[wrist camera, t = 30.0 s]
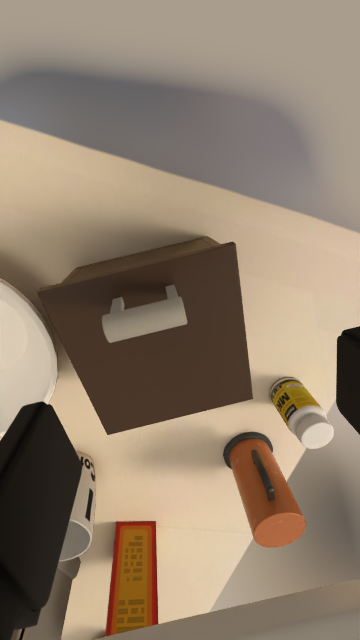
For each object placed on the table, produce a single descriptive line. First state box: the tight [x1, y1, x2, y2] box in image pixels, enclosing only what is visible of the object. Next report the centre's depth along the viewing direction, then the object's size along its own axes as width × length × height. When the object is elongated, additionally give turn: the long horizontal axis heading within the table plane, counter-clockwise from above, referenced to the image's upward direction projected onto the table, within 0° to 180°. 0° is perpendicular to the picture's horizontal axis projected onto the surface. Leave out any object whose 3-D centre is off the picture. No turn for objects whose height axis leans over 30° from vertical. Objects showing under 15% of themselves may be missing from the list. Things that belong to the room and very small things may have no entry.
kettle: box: [229, 438, 306, 547], centre depth 38 cm, size 11×6×11 cm, turn 12°
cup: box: [59, 452, 96, 561], centre depth 37 cm, size 8×8×10 cm
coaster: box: [224, 432, 273, 469], centre depth 44 cm, size 8×8×1 cm
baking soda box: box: [105, 521, 158, 637], centre depth 42 cm, size 10×6×16 cm
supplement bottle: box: [270, 378, 334, 449], centre depth 36 cm, size 5×5×8 cm
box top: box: [37, 242, 253, 435], centre depth 22 cm, size 15×15×6 cm
